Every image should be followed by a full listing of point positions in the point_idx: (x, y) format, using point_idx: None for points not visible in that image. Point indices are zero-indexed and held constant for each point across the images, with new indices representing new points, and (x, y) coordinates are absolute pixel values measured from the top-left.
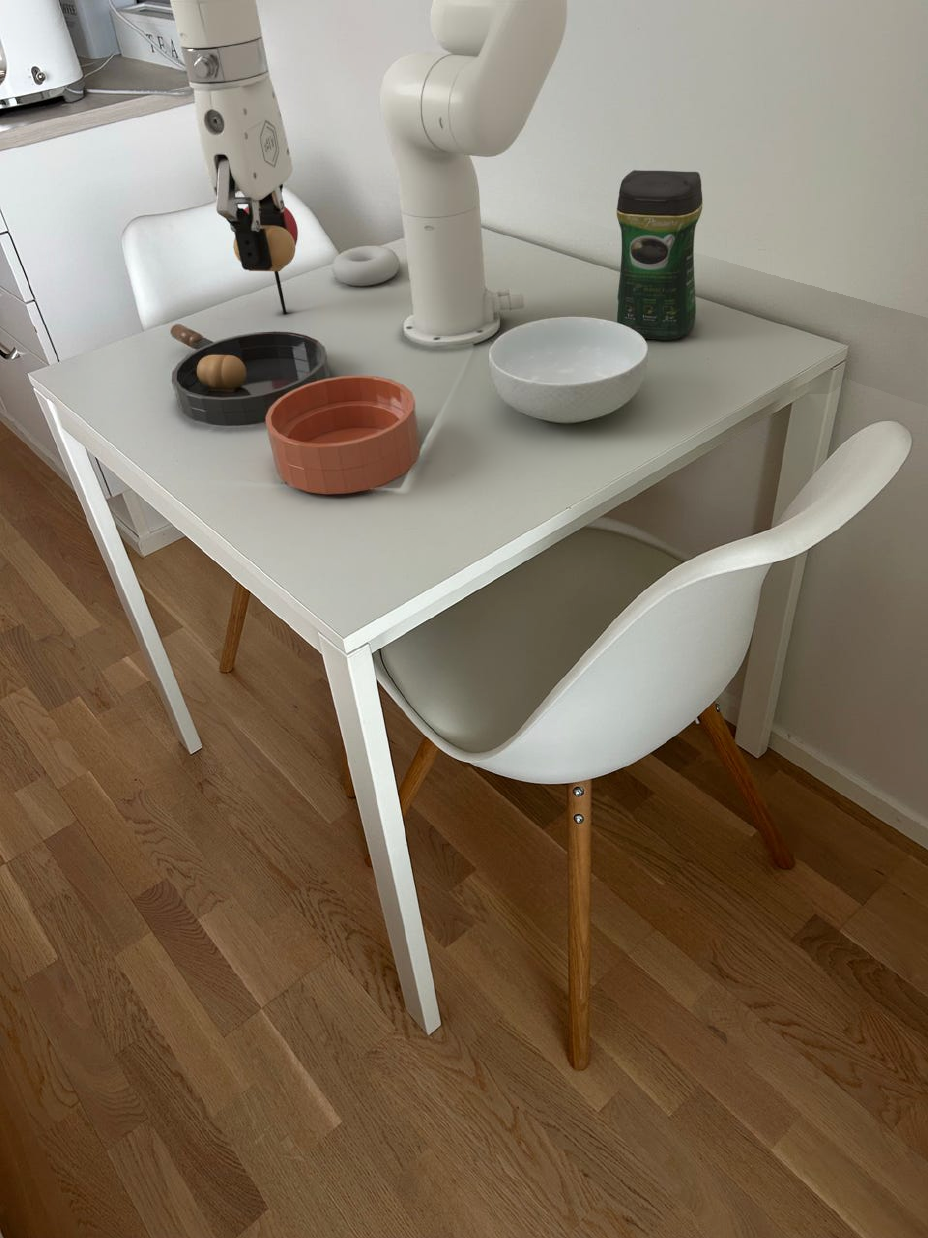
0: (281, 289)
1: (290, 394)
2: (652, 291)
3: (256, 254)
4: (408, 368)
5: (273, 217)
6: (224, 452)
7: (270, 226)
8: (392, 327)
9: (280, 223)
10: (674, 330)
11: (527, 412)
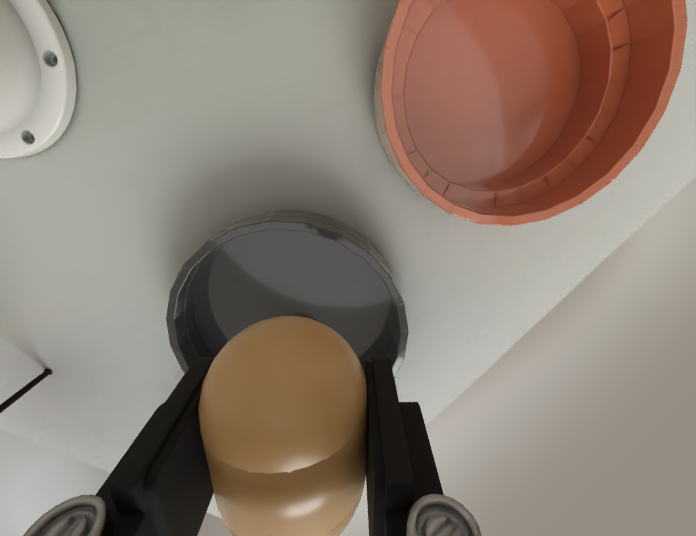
0: (13, 396)
1: (462, 208)
2: None
3: (422, 424)
4: (164, 98)
5: (164, 503)
6: (457, 289)
7: (269, 474)
8: (22, 185)
9: (174, 452)
10: None
11: None
